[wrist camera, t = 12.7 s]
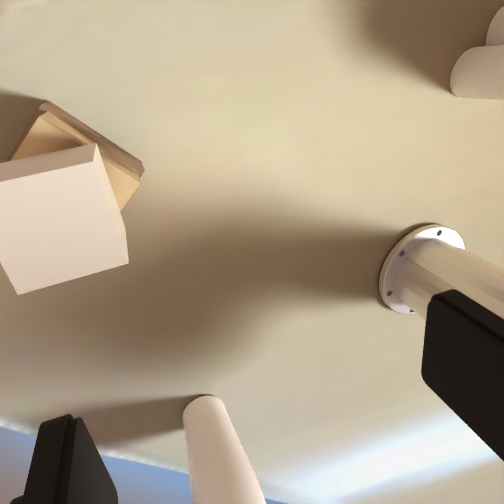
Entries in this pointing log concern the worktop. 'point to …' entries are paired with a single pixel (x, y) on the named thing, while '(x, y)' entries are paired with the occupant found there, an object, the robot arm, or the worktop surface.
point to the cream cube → (58, 219)
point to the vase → (482, 66)
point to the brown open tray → (65, 137)
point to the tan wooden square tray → (86, 132)
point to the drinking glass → (217, 456)
